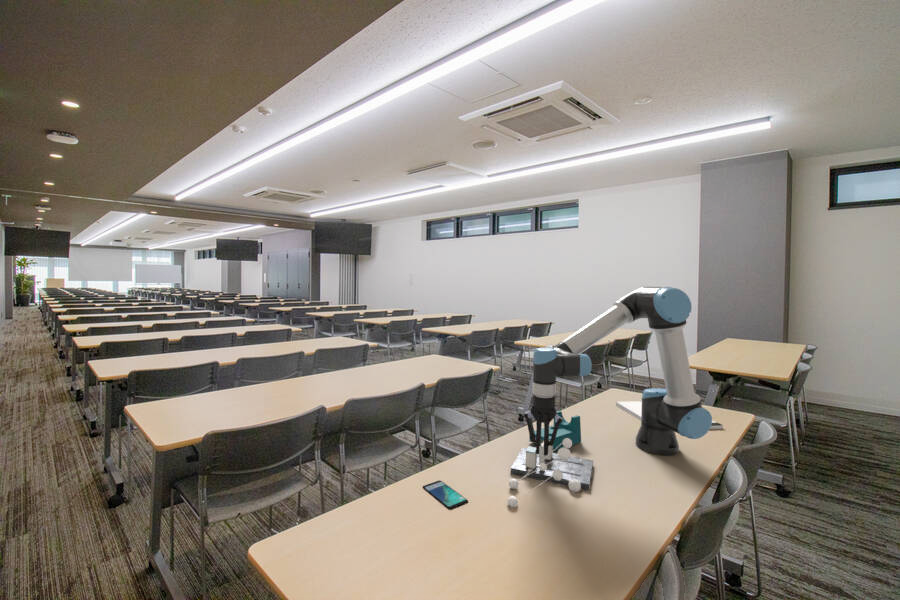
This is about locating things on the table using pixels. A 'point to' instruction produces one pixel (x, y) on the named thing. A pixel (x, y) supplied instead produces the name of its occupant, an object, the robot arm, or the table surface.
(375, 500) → the table surface
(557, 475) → the molecule model
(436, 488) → the smartphone
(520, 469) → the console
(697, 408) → the robot arm
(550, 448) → the fader
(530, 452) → the block
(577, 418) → the teal l-shaped bracket
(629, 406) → the flat white panel
